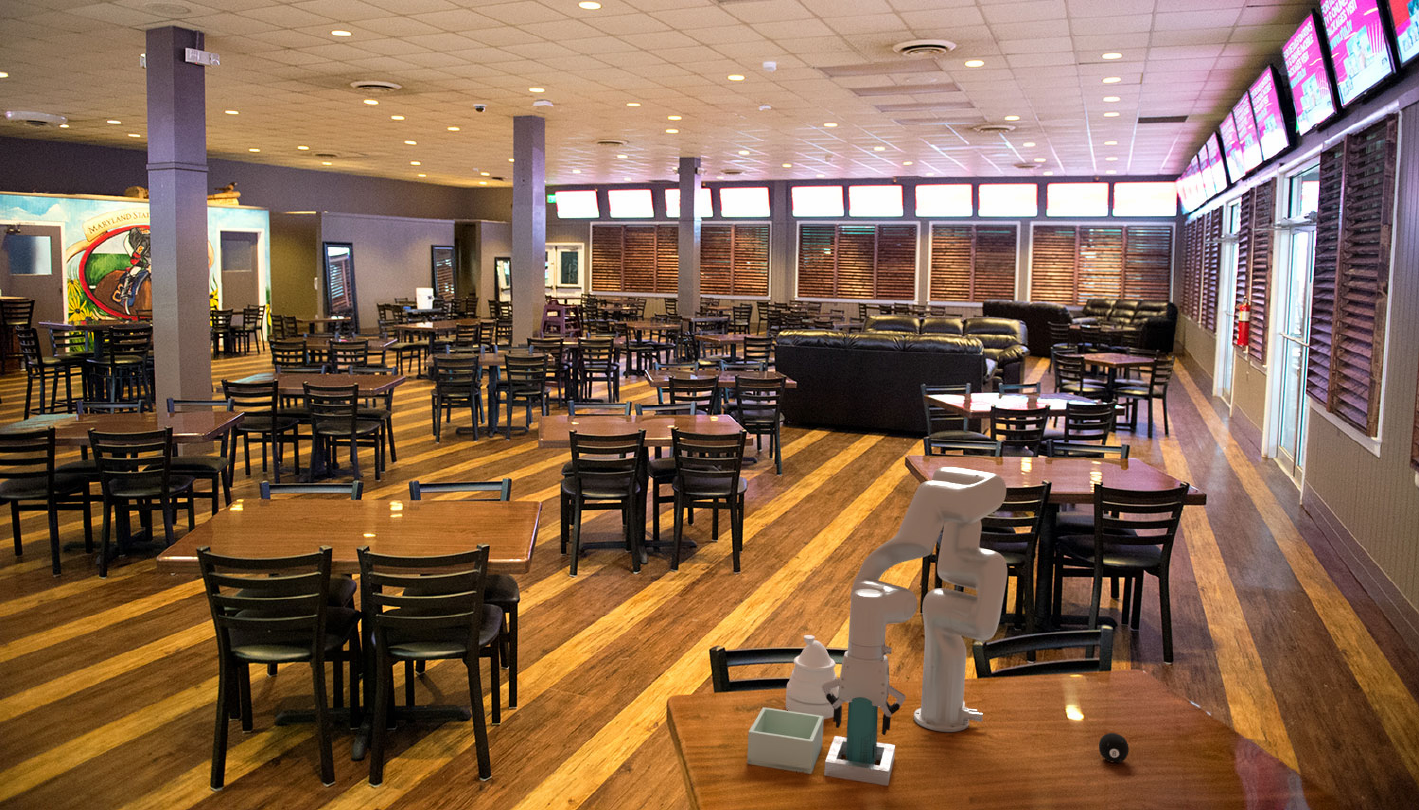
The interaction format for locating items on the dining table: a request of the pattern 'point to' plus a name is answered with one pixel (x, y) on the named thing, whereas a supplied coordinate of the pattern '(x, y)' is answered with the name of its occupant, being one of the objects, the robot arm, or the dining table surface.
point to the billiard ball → (1113, 747)
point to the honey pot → (811, 681)
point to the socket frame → (859, 764)
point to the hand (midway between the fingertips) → (861, 729)
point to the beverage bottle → (862, 731)
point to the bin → (785, 740)
